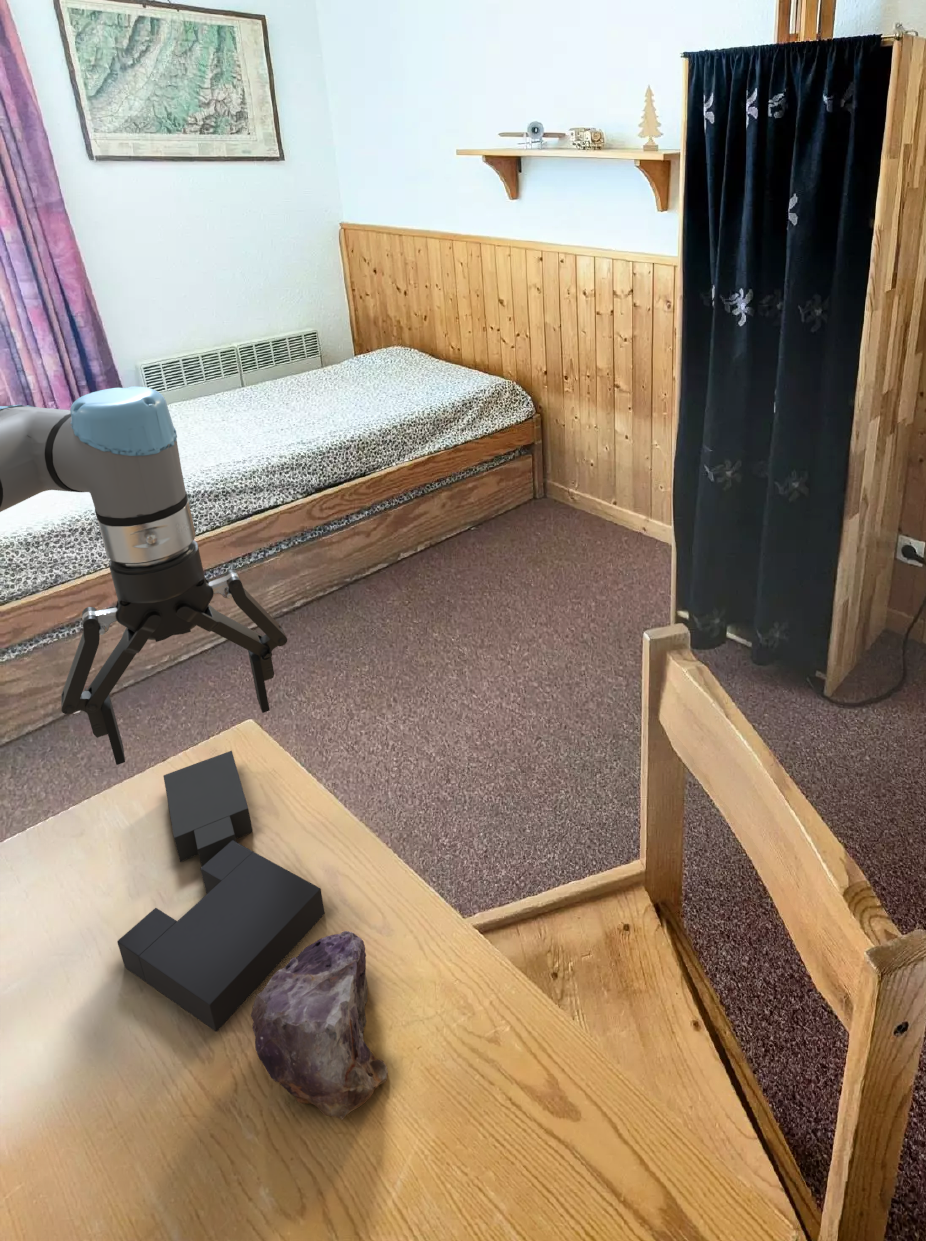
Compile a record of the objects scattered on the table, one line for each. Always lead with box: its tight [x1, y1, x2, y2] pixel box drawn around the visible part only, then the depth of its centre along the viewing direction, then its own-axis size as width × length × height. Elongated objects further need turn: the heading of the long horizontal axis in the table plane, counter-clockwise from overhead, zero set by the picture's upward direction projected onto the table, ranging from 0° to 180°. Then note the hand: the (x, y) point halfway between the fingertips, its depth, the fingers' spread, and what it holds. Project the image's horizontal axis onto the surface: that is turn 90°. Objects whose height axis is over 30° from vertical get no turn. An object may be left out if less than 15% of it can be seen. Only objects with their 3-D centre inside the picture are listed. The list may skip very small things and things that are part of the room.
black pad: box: [163, 750, 254, 867], centre depth 85 cm, size 13×7×4 cm, turn 33°
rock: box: [250, 930, 389, 1120], centre depth 63 cm, size 12×9×10 cm
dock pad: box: [116, 840, 326, 1033], centre depth 73 cm, size 12×12×4 cm
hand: (194, 729), depth 83 cm, fingers open, 13 cm apart
